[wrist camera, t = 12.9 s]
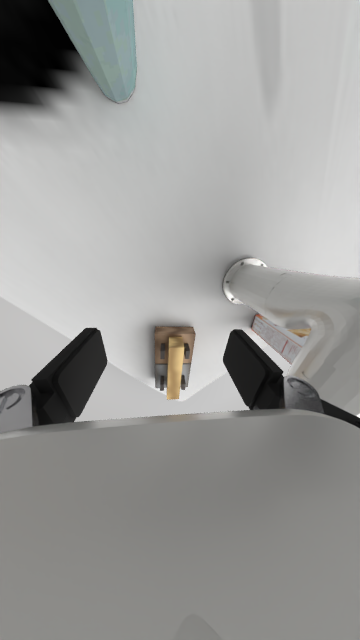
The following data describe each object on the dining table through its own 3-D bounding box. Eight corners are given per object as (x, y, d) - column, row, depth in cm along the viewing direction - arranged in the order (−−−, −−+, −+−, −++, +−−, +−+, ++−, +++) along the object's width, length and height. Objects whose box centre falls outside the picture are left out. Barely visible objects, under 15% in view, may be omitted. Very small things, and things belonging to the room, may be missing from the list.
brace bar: (182, 336, 39) (184, 347, 34) (177, 385, 49) (178, 398, 44) (168, 336, 38) (169, 347, 34) (166, 386, 48) (166, 399, 44)
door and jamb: (193, 327, 42) (198, 341, 36) (186, 377, 53) (188, 395, 47) (155, 326, 41) (153, 340, 34) (156, 378, 52) (154, 397, 45)
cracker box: (294, 311, 44) (389, 356, 25) (287, 327, 46) (368, 377, 28) (255, 313, 42) (324, 360, 24) (250, 329, 45) (308, 382, 27)
